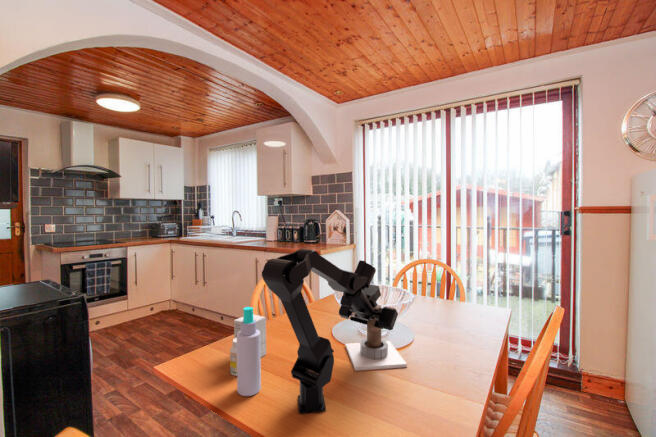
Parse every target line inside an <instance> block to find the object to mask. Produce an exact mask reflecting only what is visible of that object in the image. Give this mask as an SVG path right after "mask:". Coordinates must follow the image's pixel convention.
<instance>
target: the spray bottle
mask: <svg viewBox="0 0 656 437" xmlns="http://www.w3.org/2000/svg"><path fill="white" fill-rule="evenodd" d="M242 311H243V316H242V317H243V321H241V331H239V332H238V333H237V376H236V379H237V380H236V382H237V383H236V385H237V386H236V389H237V390H236V391H237V394H239V395H240V396H243V397H250V396H251V397H252V396H254V395H257V394H258V393H259V392H260V390H261V388H262V384H261V382H262V379H261V378H262V376H261V375H262V374H261V372H262V371H261V369H262V366H261V364H262V363H261V362H262V361H261V358H262V357H261V352H260V331H259V330H257V329H256V320H254V319H253V314H254V307H252V306H245V307H243V310H242Z"/></svg>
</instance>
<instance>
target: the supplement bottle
mask: <svg viewBox="0 0 656 437" xmlns="http://www.w3.org/2000/svg"><path fill="white" fill-rule="evenodd" d="M229 367H230V368H229V371H230V374H231V375H232V376H236V377H237V338H233V339H232V346H231V348H230V350H229Z"/></svg>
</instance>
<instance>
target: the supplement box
mask: <svg viewBox="0 0 656 437" xmlns="http://www.w3.org/2000/svg"><path fill="white" fill-rule="evenodd" d="M266 318H267V317H265V316H262V315H258V314H255V313H253V319H254V320H256V329H257V330H259V331H260V352H261V358H262V357H264V356H266V355H267V326H266V324H267V323H266V322H267V320H266ZM241 321H243V316H241V317H239V318H236V319H234V321H233V326H234V327H233V328H234V329H233V330H234V331H233V333H234V334H233V336H234V338H237V333H238V332H239V331H241ZM234 338H233V339H234Z"/></svg>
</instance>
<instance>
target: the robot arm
mask: <svg viewBox="0 0 656 437" xmlns="http://www.w3.org/2000/svg"><path fill="white" fill-rule="evenodd" d="M310 272H313V273H314V274H315V275H317V276H319V277H321V278H322V279H324V280H326V282H327V285H328V286H329V287H330V288H331V289H332V290H333V291H334V292H340V293H342V296H341V299H340V302H339V303H340V306H339V309H338V315H339V316H340V318H343V319H346V320H350V321H351V322H355V323H359V324H362V325H366V326H367V321H369V320H370V319H372V320H374V318H375V319H376V322H375V324H374V327H377V328H380V329H381V330H387V331H392V330H394V326H395V324H396V322H397V318H398V315H399V312H398V311H397V309H396V308H394V307H391V306H390V307H389V306H383V307H381V308H379V309H374V308H375V307H376V306H377V304H378V300H379V298H380V297H381V296H382V292H381V290H380V286H379V285H375V284H371V283H372V281H373V278H374V277H375V274H376V272H377V269H376V267H375V266H373V265H371V264H370V263H367V261H366V260H361V259H360V260H358V263H357V266H356V268H355V271H354V272H352V271H349V270H345V269H341V268H340V267H338V266H336V264H334V263H332V262H331V261H329V260H328V259H326V258H325V257H324V256H322V255H321V254H320V253H319V252H318V251H316V250H315V249H312V248H311V249H310V248H300V249H297V250H295V251H294V252H291V253H288V254H284V255H281V256H279V257H277V258H270V259H269V260H267V261H266V262H265V264H264V266H263V269H262V271H261V277H262V280H263V282H264V283H265V285H266V286H267V287H268V289H269V290H270V292H272V293H274V294H275V295H276V296H277V297H278V299H279V300H280V301H281V303H282V306H283V309H284V311H285V313H286V316H287V318H288V320H289V323H290V325H291V327H292V330H293V332H294V335H295V337H296V340H297V342H298V348H297V358H296V361H295V363H294V365H293V367H292V369H291V370H290V374H291V377H292V379H295V380H298V381H299V394H298V396H297V405H298V406H297V407H298V408H297V409H298V413H299V414H309V413H310V414H311V413H323V412H326V411H327V408H326V402H325V396H324V387H325V386H326V385H327V384H329V383H331V381H332V376H333V375H332V374H333V370H334V365H335V356H334V352H335V350H334V349H333V348H332V343H331V341H330V339H328V338H326V337H323V336H319V334H318V331H317V329H316V327H315V324H314V321H313V319H312V317H311V313H310V310H309V308H308V306H307V303H306V300H305V298H304V295H303V293H302V290H303V286H304V282H305V281H304V279H305V278H307V277H308V276H309V275H310Z"/></svg>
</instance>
